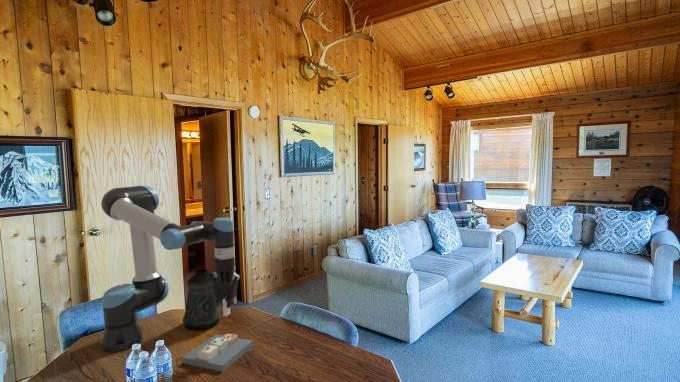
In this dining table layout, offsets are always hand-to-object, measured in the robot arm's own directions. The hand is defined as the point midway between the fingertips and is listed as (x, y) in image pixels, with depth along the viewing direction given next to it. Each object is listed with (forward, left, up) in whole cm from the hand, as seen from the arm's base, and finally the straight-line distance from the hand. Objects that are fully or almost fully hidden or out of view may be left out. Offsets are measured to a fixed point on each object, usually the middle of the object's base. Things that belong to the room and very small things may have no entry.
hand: (226, 314), depth 147 cm
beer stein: (-25, +16, -14) cm, 32 cm away
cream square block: (0, -12, -12) cm, 17 cm away
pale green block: (0, -6, -12) cm, 13 cm away
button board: (0, -6, -14) cm, 15 cm away
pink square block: (0, 0, -13) cm, 13 cm away
